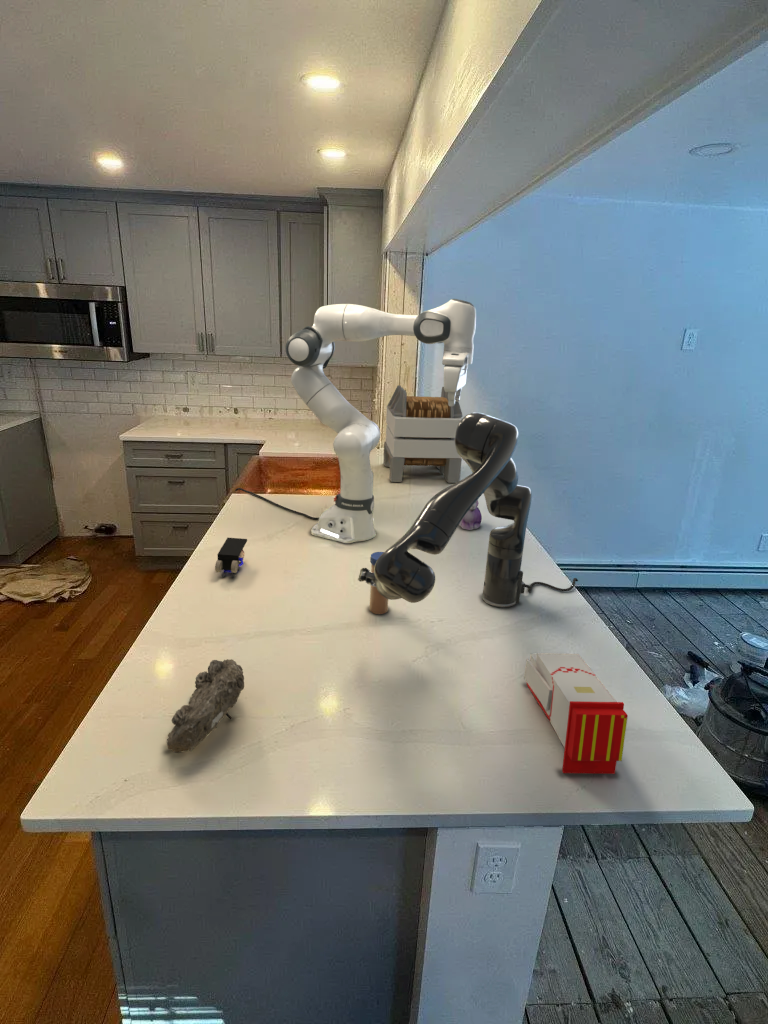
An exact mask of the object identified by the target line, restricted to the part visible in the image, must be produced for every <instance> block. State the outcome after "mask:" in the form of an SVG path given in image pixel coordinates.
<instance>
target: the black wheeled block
mask: <svg viewBox="0 0 768 1024" xmlns="http://www.w3.org/2000/svg"><path fill="white" fill-rule="evenodd" d="M247 542H248V538H240V537H226V539H225V541H224V543H223V544H222V546H221V547H220V549H219V551H218V552H217V560H216V562H215V564H214V572H215V573H221V577H222V578H224V577H225V576H226V574H227V573H230V574H231V573H232V574H231V578H234V577H235V575H236V573H237V572H239V571H240V567H242V566H243V565H244V564H245V562H244V558H245V551H244V547H245V546H246V544H247Z"/></svg>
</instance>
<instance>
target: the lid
mask: <svg viewBox="0 0 768 1024" xmlns="http://www.w3.org/2000/svg"><path fill="white" fill-rule="evenodd" d="M384 552H385V551H374V552H373V553H371V554H370V557H369V560H370V561H369V562H370V565H371V564H372V565H374V566H375V564H376V561H377V560H378V558H379V557H380V556H381V555H382V554H383V553H384Z"/></svg>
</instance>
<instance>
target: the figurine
mask: <svg viewBox="0 0 768 1024" xmlns="http://www.w3.org/2000/svg"><path fill="white" fill-rule="evenodd" d="M478 506H479V499H478V500H477V501H476V502H475V503H474V504H473V506H472V507H471V508H470V509H469V511H468V512H467V513H466V515H465V516H464V518H463V519H462V521H461V522H460V524H459V525H458V526H460V527H461V529H463V530H468V531H473V530H477V529H479V528H480V527H481V524H482V520H483V516H482V512H481V509H480V508H479V507H478Z"/></svg>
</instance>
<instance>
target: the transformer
mask: <svg viewBox="0 0 768 1024" xmlns="http://www.w3.org/2000/svg"><path fill="white" fill-rule="evenodd" d="M440 393H441V394H440V396H415V395H414V396H413V395H412V396H411V395H407V394H408V393H407V390H406V389H404V388H403V387H402V385H399V384H398V385H397V386H396V388H395V390H394V392H393V394H392V395H391V398H390V400H389V402H388V404H387V405H386V413H385V414H386V415H385V423H386V428H385V438H384V442H383V466H384V467H388V468H389V475H388V476H389V477H388V478H389V480H390V482H391V483H402V482H403V475H404V469H405V466H406V467H407V466H411V467H412V466H413V467H415V466H416V467H417V466H418V467H436V468H437V470H438V469H439V473H440V474H441V475H443V478H444V479H445V481H446V482H447V483H449V484H455V483H457V482H459V481H461V472H462V461H463V459H462V458H461V457H460V455H459V454H458V453H457V450H456V447H455V434H456V429H457V427H458V424H459V423H460V421H461V420H462V419H463V411H462V408H461V405H460V401H458V402H455V405H454V406H449V405H448V401H449V400H448V392H445V390H444V386H442V387H441V392H440Z"/></svg>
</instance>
